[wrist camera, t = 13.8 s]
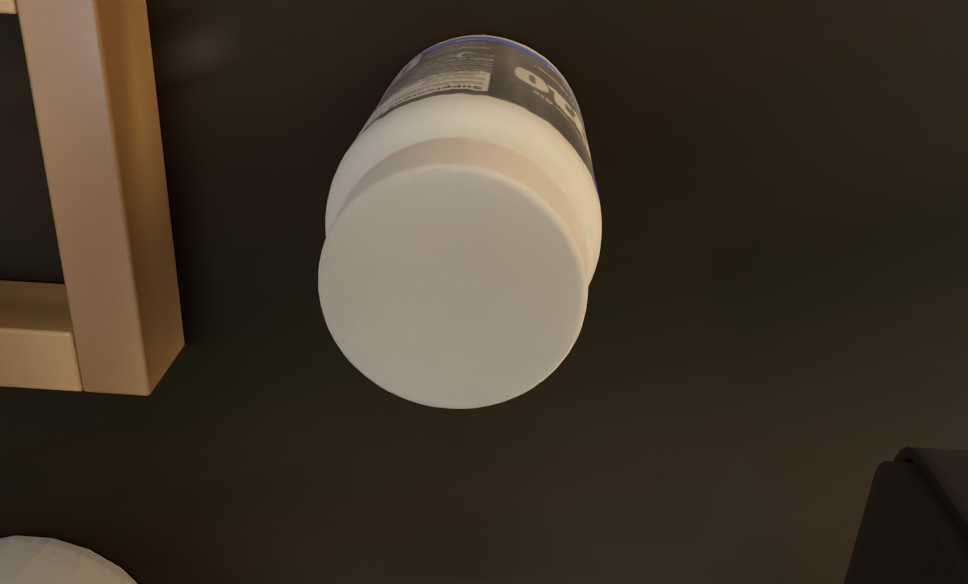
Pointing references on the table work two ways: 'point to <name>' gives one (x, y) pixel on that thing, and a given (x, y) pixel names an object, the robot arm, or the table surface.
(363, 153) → the pill bottle
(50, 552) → the coffee cup
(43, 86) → the holder
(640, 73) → the table surface
